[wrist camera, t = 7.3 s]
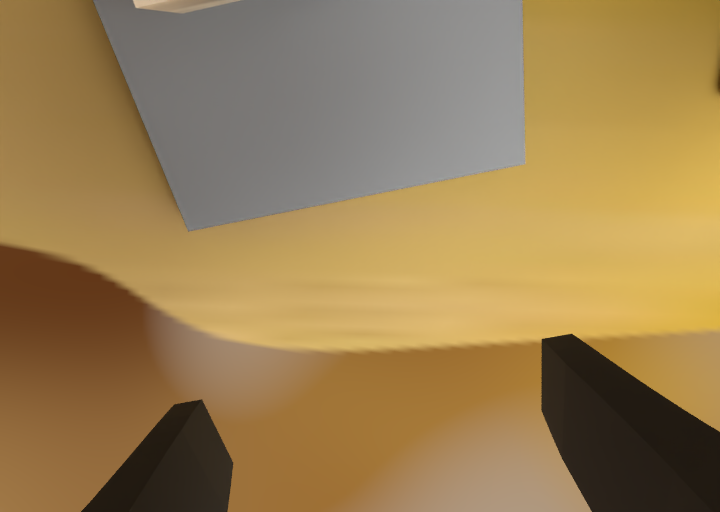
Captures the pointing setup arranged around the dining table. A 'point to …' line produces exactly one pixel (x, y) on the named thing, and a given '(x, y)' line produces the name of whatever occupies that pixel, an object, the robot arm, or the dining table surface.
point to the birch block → (179, 5)
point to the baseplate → (321, 97)
